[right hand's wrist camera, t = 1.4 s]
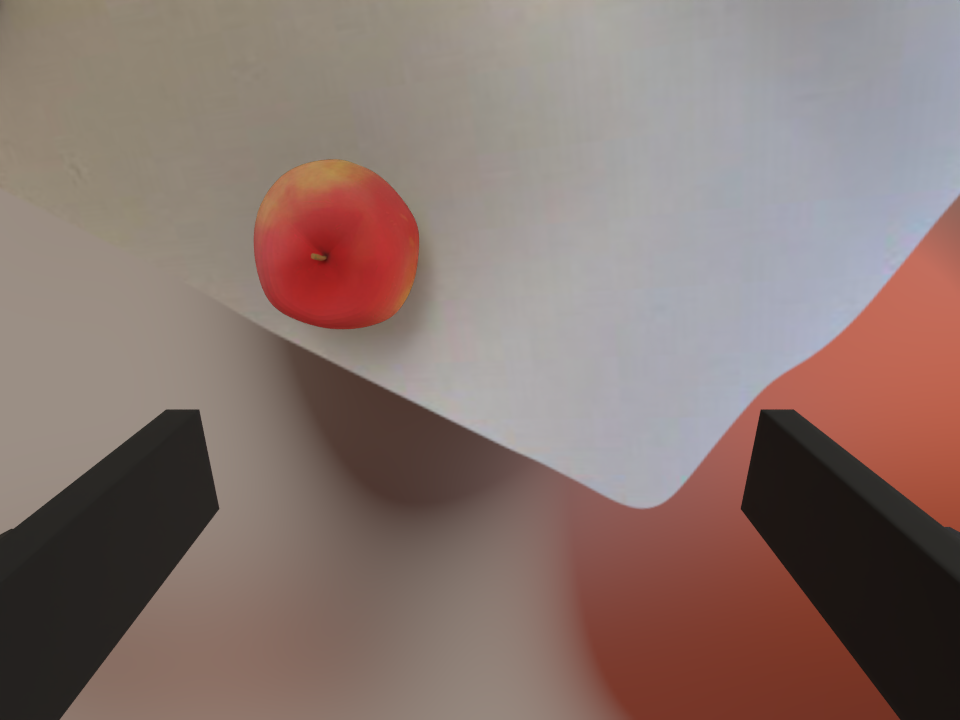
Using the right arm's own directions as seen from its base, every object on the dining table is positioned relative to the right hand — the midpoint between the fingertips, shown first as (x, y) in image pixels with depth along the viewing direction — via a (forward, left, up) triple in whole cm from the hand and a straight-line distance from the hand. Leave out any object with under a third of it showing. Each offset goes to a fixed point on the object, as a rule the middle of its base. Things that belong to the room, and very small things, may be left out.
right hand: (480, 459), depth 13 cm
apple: (+1, -8, -26) cm, 27 cm away
